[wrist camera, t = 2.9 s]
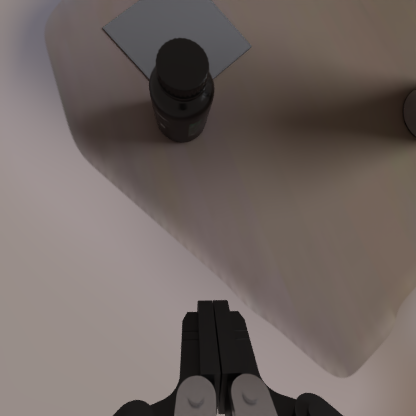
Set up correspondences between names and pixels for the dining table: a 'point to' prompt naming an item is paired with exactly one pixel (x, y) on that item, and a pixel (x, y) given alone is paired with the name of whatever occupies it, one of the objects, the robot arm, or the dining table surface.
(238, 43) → the rubber mat
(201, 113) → the supplement bottle
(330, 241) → the dining table surface
